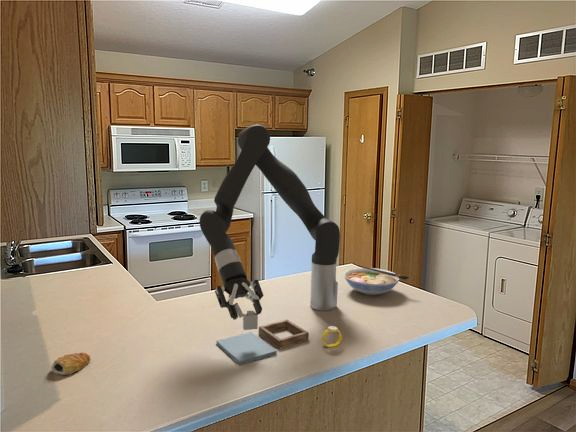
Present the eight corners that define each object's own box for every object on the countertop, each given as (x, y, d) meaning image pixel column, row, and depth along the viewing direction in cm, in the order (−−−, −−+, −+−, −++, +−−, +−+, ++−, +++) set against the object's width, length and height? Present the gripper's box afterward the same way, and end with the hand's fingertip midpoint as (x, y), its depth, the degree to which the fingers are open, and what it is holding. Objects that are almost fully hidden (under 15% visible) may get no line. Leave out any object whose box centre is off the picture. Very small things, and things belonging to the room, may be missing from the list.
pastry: (80, 357, 123) (79, 344, 123) (97, 363, 120) (96, 350, 120) (49, 372, 115) (48, 358, 114) (66, 379, 112) (65, 365, 111)
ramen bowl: (329, 290, 183) (330, 271, 182) (363, 279, 198) (364, 262, 197) (378, 307, 165) (379, 286, 163) (412, 294, 180) (413, 275, 178)
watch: (338, 343, 135) (340, 325, 134) (342, 347, 132) (344, 329, 131) (320, 344, 133) (322, 326, 132) (323, 348, 130) (325, 329, 130)
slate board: (251, 334, 139) (251, 331, 139) (276, 353, 127) (276, 350, 127) (216, 343, 132) (216, 340, 132) (239, 364, 120) (239, 361, 120)
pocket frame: (287, 326, 146) (287, 319, 146) (308, 339, 136) (308, 332, 136) (258, 333, 140) (258, 326, 140) (279, 348, 130) (279, 340, 130)
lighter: (256, 326, 130) (257, 301, 129) (257, 328, 129) (258, 303, 127) (232, 328, 129) (233, 302, 127) (233, 330, 127) (233, 304, 126)
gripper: (212, 263, 128) (229, 315, 120) (254, 257, 136) (274, 305, 128) (204, 276, 133) (221, 326, 125) (246, 270, 141) (264, 316, 133)
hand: (247, 315), depth 127 cm, fingers closed on lighter, 7 cm apart
